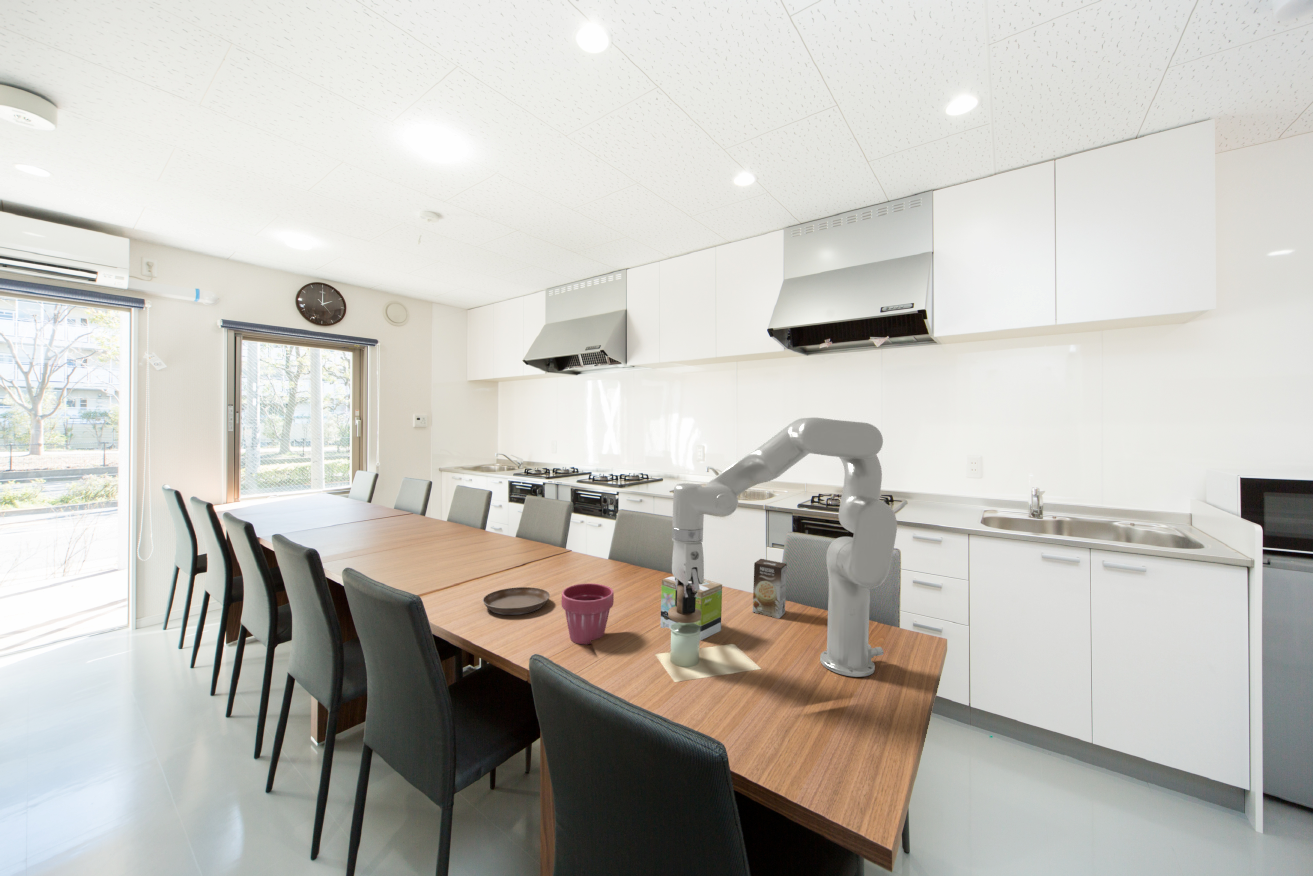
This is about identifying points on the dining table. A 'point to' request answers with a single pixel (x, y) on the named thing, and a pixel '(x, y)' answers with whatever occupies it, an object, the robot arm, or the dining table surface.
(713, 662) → the board
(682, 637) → the jar
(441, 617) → the dining table surface
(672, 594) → the tea box
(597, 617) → the plant pot
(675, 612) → the lid
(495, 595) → the plant saucer
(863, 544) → the robot arm
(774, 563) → the coffee box
